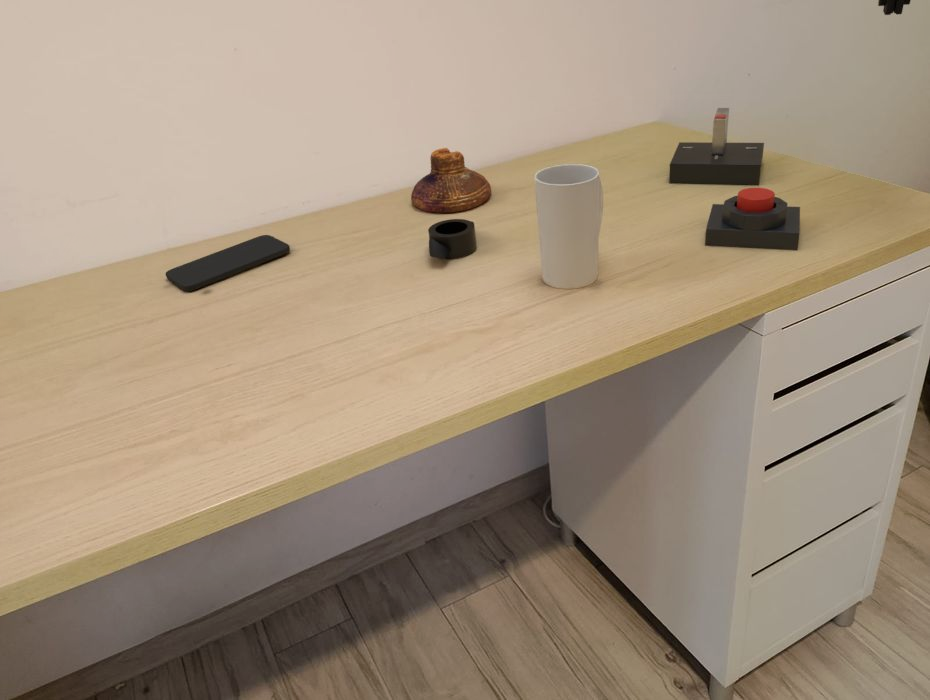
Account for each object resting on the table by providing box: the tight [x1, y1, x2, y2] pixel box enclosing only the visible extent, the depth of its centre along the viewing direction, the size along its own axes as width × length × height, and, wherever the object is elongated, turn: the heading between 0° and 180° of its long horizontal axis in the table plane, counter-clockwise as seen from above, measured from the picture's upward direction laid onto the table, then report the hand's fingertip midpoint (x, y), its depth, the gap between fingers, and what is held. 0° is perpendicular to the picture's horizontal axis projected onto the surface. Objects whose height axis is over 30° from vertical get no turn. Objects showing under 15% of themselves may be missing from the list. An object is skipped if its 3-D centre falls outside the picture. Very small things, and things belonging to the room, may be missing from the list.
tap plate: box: [668, 141, 765, 187], centre depth 108 cm, size 12×12×3 cm
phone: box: [165, 234, 291, 292], centre depth 97 cm, size 7×1×15 cm
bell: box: [410, 147, 492, 214], centre depth 108 cm, size 12×12×7 cm
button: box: [737, 187, 776, 212], centre depth 86 cm, size 4×4×2 cm
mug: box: [534, 163, 604, 290], centre depth 82 cm, size 10×7×12 cm, turn 138°
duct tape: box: [427, 218, 478, 260], centre depth 94 cm, size 8×10×3 cm
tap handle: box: [711, 107, 730, 155], centre depth 107 cm, size 6×2×5 cm, turn 159°
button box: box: [704, 195, 801, 251], centre depth 88 cm, size 10×8×4 cm
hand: (892, 12), depth 83 cm, fingers closed
